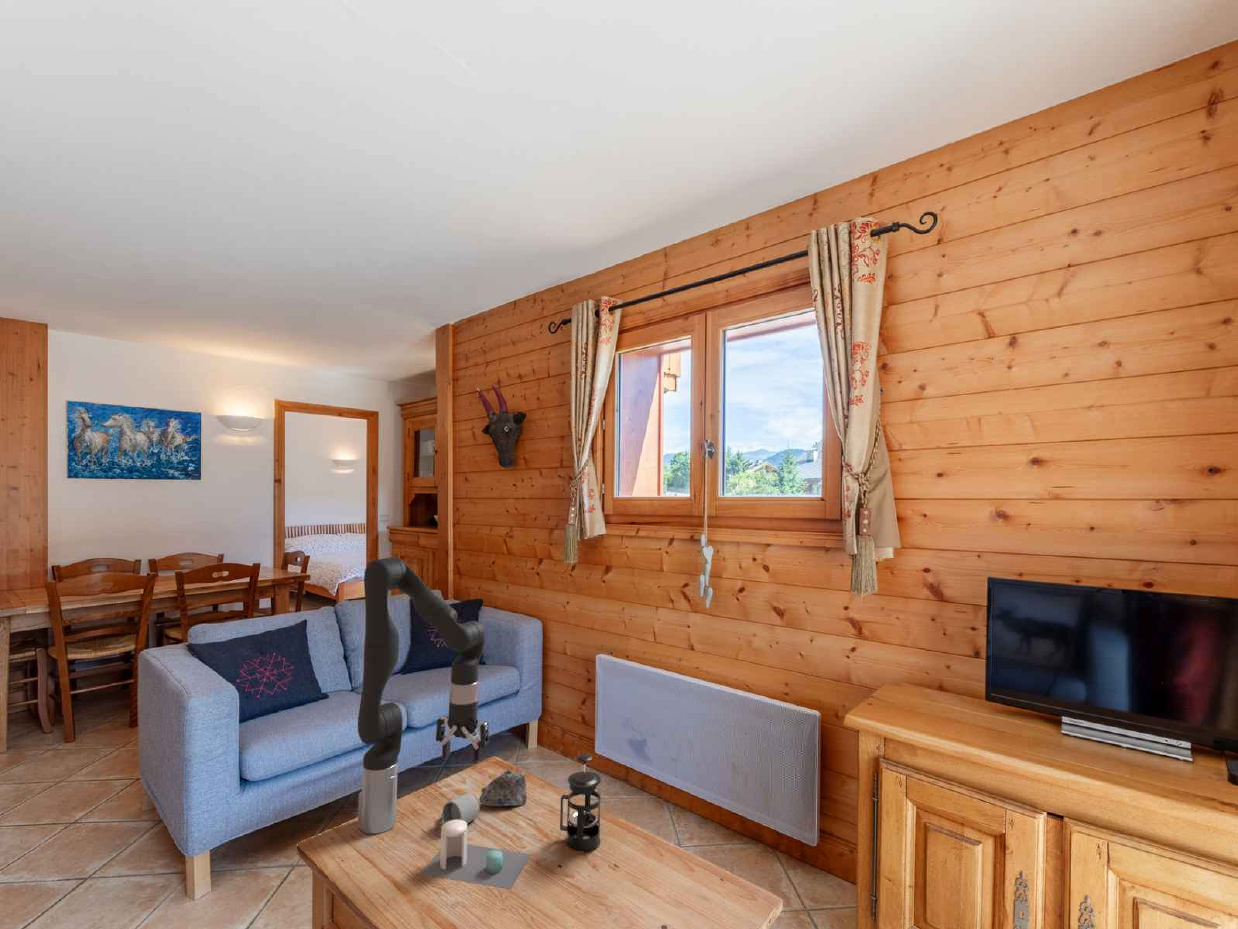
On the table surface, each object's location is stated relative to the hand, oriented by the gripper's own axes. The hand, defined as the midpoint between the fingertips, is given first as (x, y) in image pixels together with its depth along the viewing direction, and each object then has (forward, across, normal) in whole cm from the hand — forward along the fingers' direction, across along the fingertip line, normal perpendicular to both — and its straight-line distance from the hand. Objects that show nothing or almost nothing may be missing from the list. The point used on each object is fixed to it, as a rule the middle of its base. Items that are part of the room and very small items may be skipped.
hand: (461, 759), depth 159 cm
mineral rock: (+24, +2, +25) cm, 35 cm away
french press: (+23, +31, +12) cm, 40 cm away
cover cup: (+23, +2, -6) cm, 24 cm away
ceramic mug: (+24, -6, +11) cm, 27 cm away
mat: (+23, +8, -5) cm, 25 cm away
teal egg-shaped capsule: (+23, +13, -6) cm, 27 cm away
